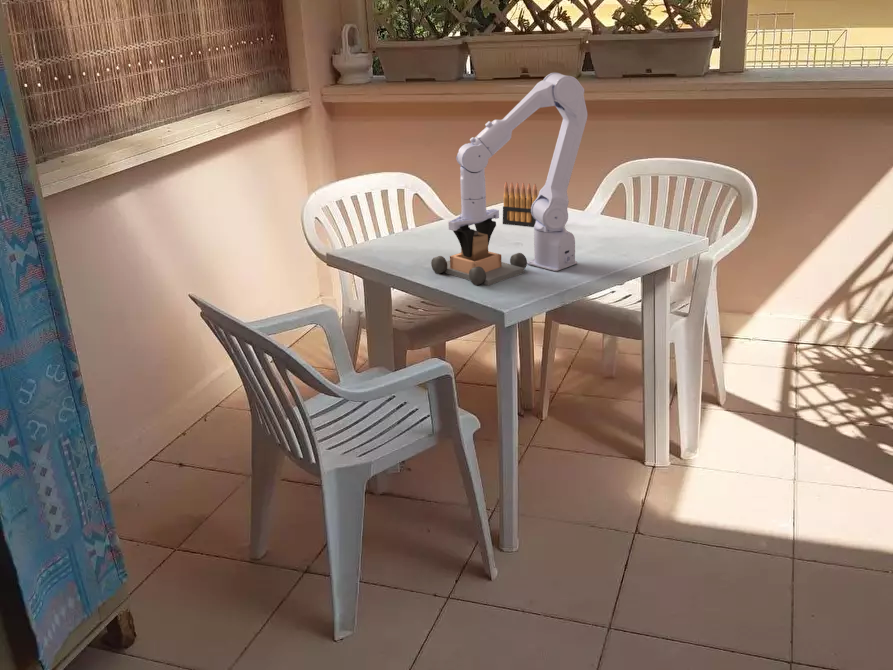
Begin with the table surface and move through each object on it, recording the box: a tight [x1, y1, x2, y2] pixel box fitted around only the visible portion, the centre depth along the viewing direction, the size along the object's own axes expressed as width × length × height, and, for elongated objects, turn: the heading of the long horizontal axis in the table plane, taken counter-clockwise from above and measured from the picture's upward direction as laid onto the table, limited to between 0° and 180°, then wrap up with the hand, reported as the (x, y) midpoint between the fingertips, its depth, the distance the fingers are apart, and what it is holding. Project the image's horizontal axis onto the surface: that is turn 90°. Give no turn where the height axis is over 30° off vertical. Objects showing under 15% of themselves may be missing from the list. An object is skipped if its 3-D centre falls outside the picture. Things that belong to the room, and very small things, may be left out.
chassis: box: [430, 250, 528, 286], centre depth 209 cm, size 18×15×4 cm
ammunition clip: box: [502, 181, 538, 228], centre depth 245 cm, size 11×2×12 cm, turn 60°
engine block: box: [460, 230, 489, 261], centre depth 207 cm, size 4×4×7 cm
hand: (475, 253), depth 208 cm, fingers closed on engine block, 4 cm apart
